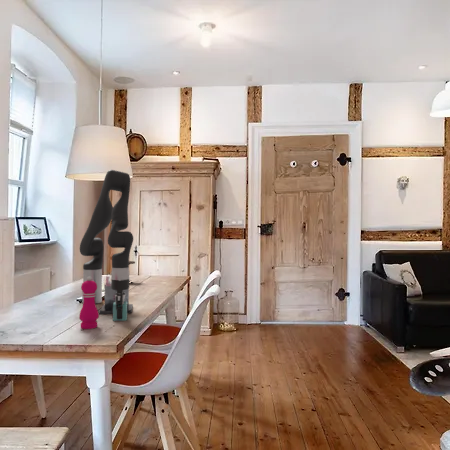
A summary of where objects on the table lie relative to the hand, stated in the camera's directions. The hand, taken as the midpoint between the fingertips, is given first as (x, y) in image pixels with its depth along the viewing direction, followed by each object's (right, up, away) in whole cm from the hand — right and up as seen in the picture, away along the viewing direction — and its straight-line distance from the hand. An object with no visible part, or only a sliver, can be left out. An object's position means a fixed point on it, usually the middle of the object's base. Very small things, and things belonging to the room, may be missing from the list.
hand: (120, 317), depth 177 cm
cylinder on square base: (-6, -1, +17) cm, 18 cm away
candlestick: (-22, 0, +107) cm, 109 cm away
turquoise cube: (0, -1, 0) cm, 1 cm away
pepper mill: (-9, -1, -14) cm, 16 cm away
